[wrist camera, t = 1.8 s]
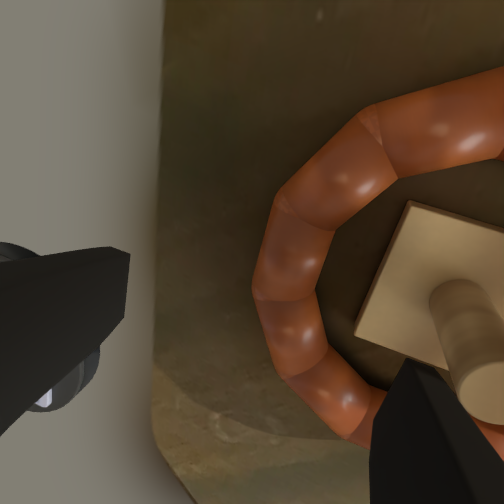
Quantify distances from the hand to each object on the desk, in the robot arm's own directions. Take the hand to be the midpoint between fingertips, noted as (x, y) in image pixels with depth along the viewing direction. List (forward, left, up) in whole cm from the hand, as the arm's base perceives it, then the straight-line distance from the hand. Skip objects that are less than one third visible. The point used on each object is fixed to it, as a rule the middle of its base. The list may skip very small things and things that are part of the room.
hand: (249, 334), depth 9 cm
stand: (+6, 0, -8) cm, 10 cm away
